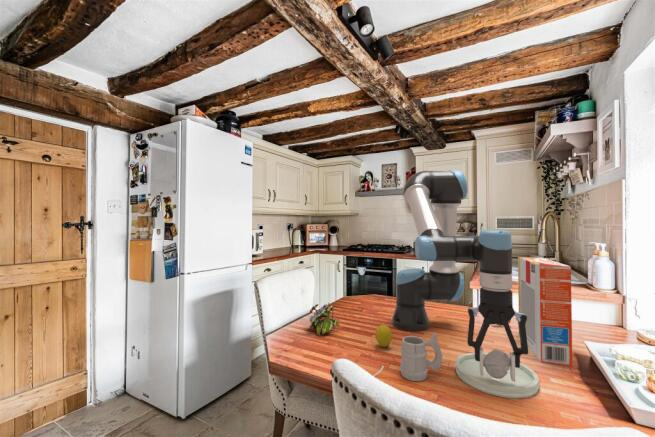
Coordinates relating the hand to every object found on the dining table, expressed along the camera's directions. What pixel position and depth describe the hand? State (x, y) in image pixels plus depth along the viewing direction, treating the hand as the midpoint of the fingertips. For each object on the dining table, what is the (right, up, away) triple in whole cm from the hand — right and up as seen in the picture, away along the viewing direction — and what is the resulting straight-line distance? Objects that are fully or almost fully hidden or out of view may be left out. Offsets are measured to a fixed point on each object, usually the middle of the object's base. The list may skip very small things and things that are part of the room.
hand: (496, 375), depth 78 cm
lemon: (-25, -3, +25) cm, 35 cm away
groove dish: (+2, -3, +5) cm, 6 cm away
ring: (+28, -4, +45) cm, 53 cm away
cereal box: (+29, -3, +23) cm, 38 cm away
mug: (-18, -3, +6) cm, 19 cm away
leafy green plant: (-46, -4, +42) cm, 62 cm away
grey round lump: (0, 0, 0) cm, 1 cm away
